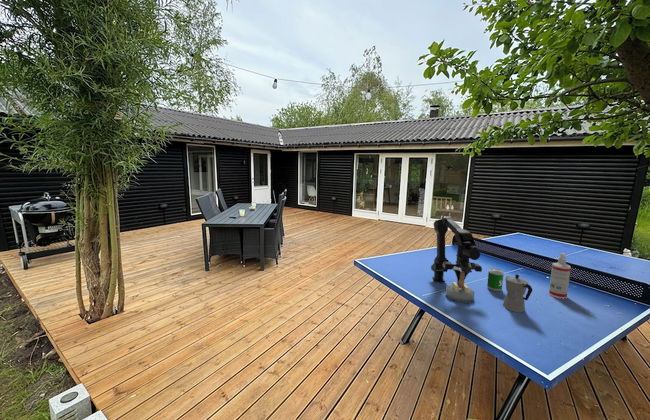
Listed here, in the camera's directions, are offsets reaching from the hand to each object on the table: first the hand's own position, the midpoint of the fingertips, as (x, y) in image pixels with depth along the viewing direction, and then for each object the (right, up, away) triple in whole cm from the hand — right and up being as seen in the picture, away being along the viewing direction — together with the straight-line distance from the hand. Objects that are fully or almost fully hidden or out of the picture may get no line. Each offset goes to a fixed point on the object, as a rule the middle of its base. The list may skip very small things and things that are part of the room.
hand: (460, 281), depth 144 cm
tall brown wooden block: (0, -3, 0) cm, 3 cm away
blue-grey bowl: (0, -9, +1) cm, 9 cm away
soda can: (+26, -8, +11) cm, 30 cm away
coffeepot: (+22, -11, -12) cm, 27 cm away
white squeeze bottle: (+57, -9, +3) cm, 58 cm away
